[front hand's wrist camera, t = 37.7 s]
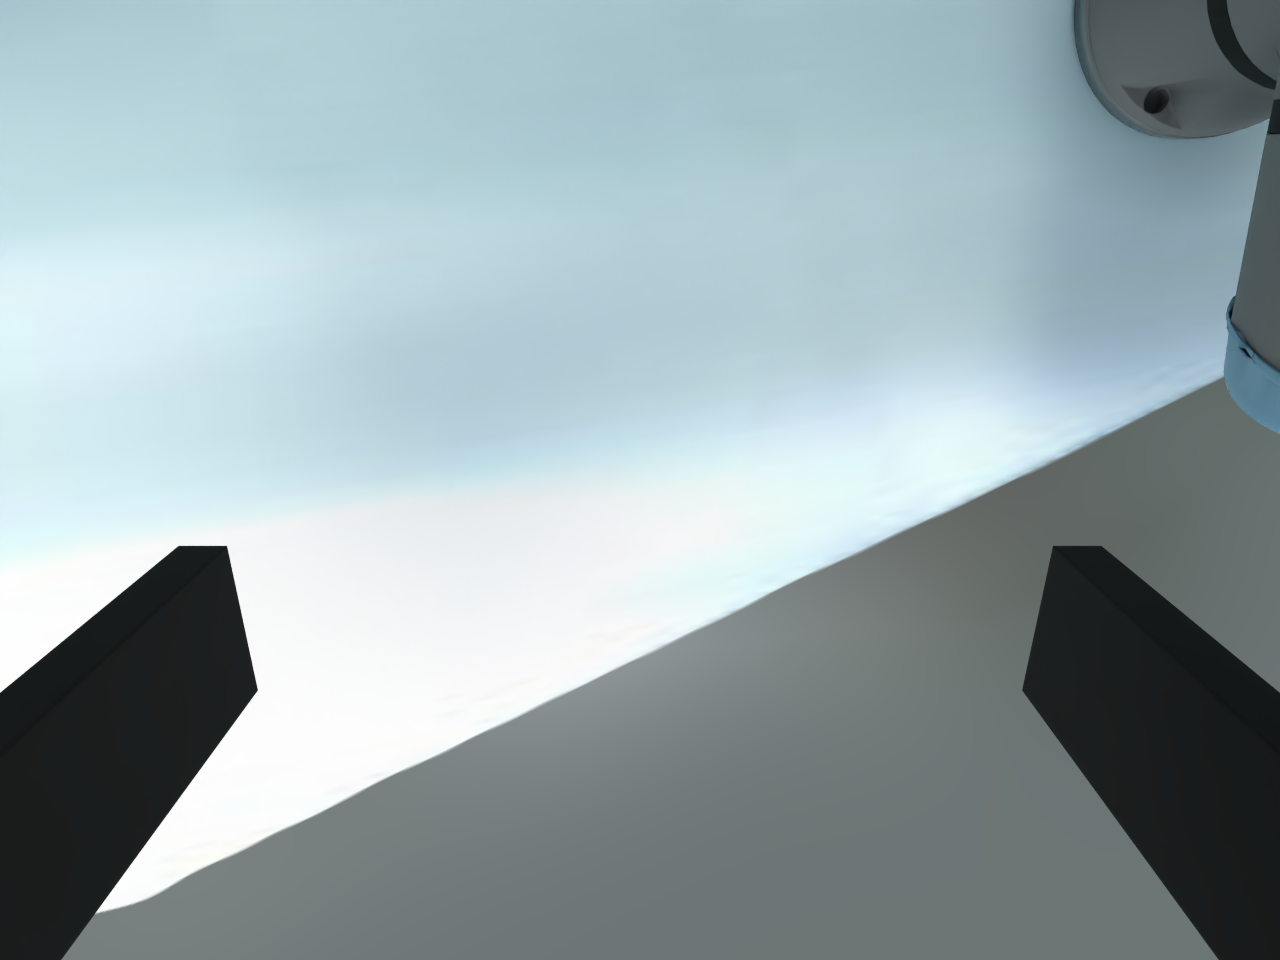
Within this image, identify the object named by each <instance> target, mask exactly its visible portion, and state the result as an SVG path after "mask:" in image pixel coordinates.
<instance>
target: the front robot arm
mask: <svg viewBox="0 0 1280 960" xmlns="http://www.w3.org/2000/svg"><path fill="white" fill-rule="evenodd" d="M1075 37H1076V46H1077V51H1078V56H1079V60H1080V63H1081V67H1082V70H1083V73H1084V75H1085V77H1086V80H1087V82H1088V84H1089V86H1090V87H1091V89H1092V91H1093V93H1094V94H1095V96H1096V97H1097V98H1098V100H1099V101H1100V103H1101V104H1102V105H1103V106H1104V107H1105V108H1106V109H1107V110H1108V111H1109V112H1110V113H1111V114H1112V115H1113V116H1114V117H1116V118H1117V119H1118V120H1119V121H1121V122H1122V123H1124V124H1126V125H1127V126H1129V127H1131V128H1133V129H1135V130H1137V131H1139V132H1142V133H1145V134H1148V135H1151V136H1156V137H1161V138H1170V139H1191V138H1205V137H1214V136H1219V135H1223V134H1228V133H1231V132H1234V131H1237V130H1241V129H1244V128H1247V127H1250V126H1252V125H1255V124H1258V123H1260V122H1262V121H1264V120H1266V119H1269V118H1270V121H1269V126H1268V131H1267V133H1269V134H1266V139H1265V145H1264V150H1263V155H1262V160H1261V166H1260V171H1259V176H1258V181H1257V187H1256V192H1255V197H1254V202H1253V208H1252V213H1251V218H1250V223H1249V229H1248V234H1247V239H1246V244H1245V250H1244V255H1243V260H1242V265H1241V271H1240V276H1239V281H1238V287H1237V292H1236V296H1234V297H1233V298H1232V300H1231V301H1230V303H1229V306H1228V309H1227V313H1226V320H1227V329H1228V332H1229V335H1228V342H1227V349H1226V357H1225V364H1224V379H1225V381H1226V384H1227V388H1228V391H1229V393H1230V395H1231V397H1232V399H1233V400H1234V402H1235V403H1236V404H1237V405H1238V406H1239V407H1240V408H1241V409H1242V410H1243V411H1244V412H1245V413H1246V414H1248V415H1249V416H1250V417H1251V418H1253V419H1254V420H1255V421H1257V422H1259V423H1260V424H1262V425H1263V426H1265V427H1267V428H1269V429H1270V430H1272V431H1274V432H1277V433H1279V434H1280V0H1076V8H1075ZM257 691H258V689H257V684H256V680H255V675H254V670H253V666H252V661H251V656H250V652H249V647H248V642H247V638H246V633H245V628H244V624H243V619H242V614H241V610H240V605H239V600H238V596H237V591H236V586H235V582H234V577H233V572H232V568H231V563H230V558H229V554H228V549H227V546H178V547H177V548H176V549H174V550H173V551H172V552H171V553H170V554H168V555H167V556H166V557H165V558H163V559H162V560H161V561H160V562H159V563H157V564H156V565H155V566H154V567H153V568H151V569H150V570H149V571H148V572H146V573H145V574H144V575H143V576H142V577H140V578H139V579H138V580H137V581H136V582H134V583H133V584H132V585H131V586H129V587H128V588H127V589H126V590H125V591H123V592H122V593H121V594H120V595H119V596H117V597H116V598H115V599H114V600H112V601H111V602H110V603H109V604H108V605H106V606H105V607H104V608H103V609H102V610H100V611H99V612H98V613H97V614H95V615H94V616H93V617H92V618H91V619H89V620H88V621H87V622H86V623H84V624H83V625H82V626H81V627H80V628H78V629H77V630H76V631H75V632H74V633H72V634H71V635H70V636H69V637H67V638H66V639H65V640H64V641H63V642H61V643H60V644H59V645H58V646H57V647H55V648H54V649H53V650H52V651H50V652H49V653H48V654H47V655H46V656H44V657H43V658H42V659H41V660H40V661H38V662H37V663H36V664H35V665H33V666H32V667H31V668H30V669H29V670H27V671H26V672H25V673H24V674H23V675H21V676H20V677H19V678H18V679H16V680H15V681H14V682H13V683H12V684H10V685H9V686H8V687H7V688H6V689H4V690H3V691H2V692H1V693H0V960H61V959H62V958H63V957H64V955H65V954H66V953H67V951H68V950H69V948H70V947H71V946H72V944H73V943H74V942H75V940H76V939H77V937H78V936H79V935H80V933H81V932H82V931H83V929H84V928H85V926H86V925H87V924H88V922H89V921H90V920H91V918H92V917H93V916H94V914H95V913H96V911H97V910H98V909H99V907H100V906H101V905H102V903H103V902H104V900H105V899H106V898H107V896H108V895H109V894H110V892H111V891H112V889H113V888H114V887H115V885H116V884H117V883H118V881H119V880H120V879H121V877H122V876H123V874H124V873H125V872H126V870H127V869H128V868H129V866H130V865H131V863H132V862H133V861H134V859H135V858H136V857H137V855H138V854H139V852H140V851H141V850H142V848H143V847H144V846H145V844H146V843H147V842H148V840H149V839H150V837H151V836H152V835H153V833H154V832H155V831H156V829H157V828H158V826H159V825H160V824H161V822H162V821H163V820H164V818H165V817H166V815H167V814H168V813H169V811H170V810H171V809H172V807H173V806H174V805H175V803H176V802H177V800H178V799H179V798H180V796H181V795H182V794H183V792H184V791H185V789H186V788H187V787H188V785H189V784H190V783H191V781H192V780H193V778H194V777H195V776H196V774H197V773H198V772H199V770H200V769H201V767H202V766H203V765H204V763H205V762H206V761H207V759H208V758H209V757H210V755H211V754H212V752H213V751H214V750H215V748H216V747H217V746H218V744H219V743H220V741H221V740H222V739H223V737H224V736H225V735H226V733H227V732H228V730H229V729H230V728H231V726H232V725H233V724H234V722H235V721H236V720H237V718H238V717H239V715H240V714H241V713H242V711H243V710H244V709H245V707H246V706H247V704H248V703H249V702H250V700H251V699H252V698H253V696H254V695H255V693H256V692H257ZM1022 691H1023V692H1024V693H1025V695H1026V696H1027V697H1028V699H1029V700H1030V702H1031V703H1032V704H1033V706H1034V707H1035V709H1036V710H1037V711H1038V713H1039V714H1040V715H1041V717H1042V718H1043V720H1044V721H1045V722H1046V723H1047V725H1048V726H1049V728H1050V729H1051V730H1052V732H1053V733H1054V735H1055V736H1056V737H1057V739H1058V740H1059V741H1060V743H1061V744H1062V746H1063V747H1064V748H1065V750H1066V751H1067V752H1068V754H1069V755H1070V757H1071V758H1072V759H1073V761H1074V762H1075V763H1076V765H1077V766H1078V767H1079V769H1080V770H1081V772H1082V773H1083V774H1084V776H1085V777H1086V778H1087V780H1088V781H1089V782H1090V784H1091V785H1092V787H1093V788H1094V789H1095V791H1096V792H1097V793H1098V795H1099V796H1100V798H1101V799H1102V800H1103V802H1104V803H1105V805H1106V806H1107V807H1108V809H1109V810H1110V811H1111V813H1112V814H1113V815H1114V817H1115V818H1116V819H1117V821H1118V822H1119V824H1120V825H1121V826H1122V828H1123V829H1124V831H1125V832H1126V833H1127V835H1128V836H1129V837H1130V839H1131V840H1132V841H1133V843H1134V844H1135V845H1136V847H1137V848H1138V850H1139V851H1140V852H1141V854H1142V855H1143V857H1144V858H1145V859H1146V861H1147V862H1148V863H1149V865H1150V866H1151V867H1152V869H1153V870H1154V872H1155V873H1156V874H1157V876H1158V877H1159V878H1160V880H1161V881H1162V883H1163V884H1164V885H1165V887H1166V888H1167V889H1168V891H1169V892H1170V894H1171V895H1172V896H1173V898H1174V899H1175V900H1176V902H1177V903H1178V905H1179V906H1180V907H1181V909H1182V910H1183V911H1184V913H1185V914H1186V916H1187V917H1188V918H1189V920H1190V921H1191V922H1192V924H1193V925H1194V927H1195V928H1196V929H1197V931H1198V932H1199V933H1200V935H1201V936H1202V937H1203V939H1204V940H1205V942H1206V943H1207V944H1208V946H1209V947H1210V948H1211V950H1212V951H1213V953H1214V954H1215V955H1216V957H1217V958H1218V959H1219V960H1280V693H1279V692H1278V691H1277V690H1276V689H1274V688H1273V687H1272V686H1271V685H1270V684H1268V683H1267V682H1266V681H1265V680H1264V679H1262V678H1261V677H1260V676H1259V675H1257V674H1256V673H1255V672H1254V671H1253V670H1251V669H1250V668H1249V667H1248V666H1247V665H1245V664H1244V663H1243V662H1242V661H1240V660H1239V659H1238V658H1237V657H1236V656H1234V655H1233V654H1232V653H1231V652H1229V651H1228V650H1227V649H1226V648H1225V647H1223V646H1222V645H1221V644H1220V643H1219V642H1217V641H1216V640H1215V639H1214V638H1212V637H1211V636H1210V635H1209V634H1208V633H1206V632H1205V631H1204V630H1203V629H1202V628H1200V627H1199V626H1198V625H1197V624H1195V623H1194V622H1193V621H1192V620H1191V619H1189V618H1188V617H1187V616H1186V615H1185V614H1183V613H1182V612H1181V611H1180V610H1178V609H1177V608H1176V607H1175V606H1174V605H1172V604H1171V603H1170V602H1169V601H1168V600H1166V599H1165V598H1164V597H1163V596H1161V595H1160V594H1159V593H1158V592H1157V591H1155V590H1154V589H1153V588H1152V587H1150V586H1149V585H1148V584H1147V583H1146V582H1144V581H1143V580H1142V579H1141V578H1140V577H1138V576H1137V575H1136V574H1135V573H1134V572H1132V571H1131V570H1130V569H1129V568H1127V567H1126V566H1125V565H1124V564H1122V563H1121V562H1120V561H1119V560H1118V559H1116V558H1115V557H1114V556H1113V555H1112V554H1110V553H1109V552H1108V551H1107V550H1106V549H1104V548H1103V547H1102V546H1053V549H1052V554H1051V558H1050V563H1049V568H1048V572H1047V577H1046V582H1045V586H1044V591H1043V596H1042V600H1041V605H1040V610H1039V615H1038V619H1037V624H1036V628H1035V633H1034V638H1033V642H1032V647H1031V652H1030V656H1029V661H1028V666H1027V670H1026V675H1025V680H1024V684H1023V689H1022Z"/></svg>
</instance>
